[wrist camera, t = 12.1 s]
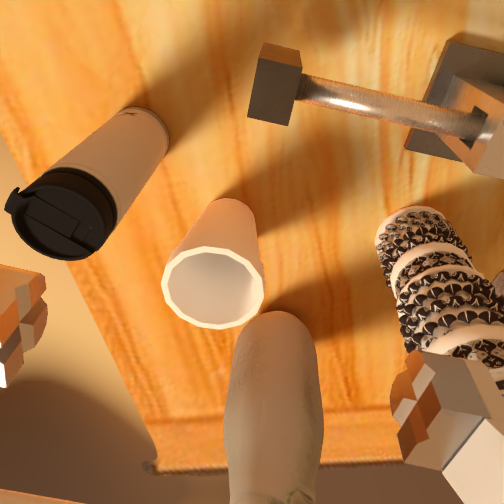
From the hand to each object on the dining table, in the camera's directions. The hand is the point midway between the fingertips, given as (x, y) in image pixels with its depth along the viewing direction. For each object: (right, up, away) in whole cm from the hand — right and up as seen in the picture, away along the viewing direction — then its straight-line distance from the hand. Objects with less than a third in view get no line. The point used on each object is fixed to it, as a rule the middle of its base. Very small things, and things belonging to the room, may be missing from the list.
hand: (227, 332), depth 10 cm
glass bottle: (+4, -8, +49) cm, 50 cm away
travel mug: (-11, +14, +36) cm, 40 cm away
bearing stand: (+24, +15, +32) cm, 43 cm away
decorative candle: (+19, +4, +41) cm, 45 cm away
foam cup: (-2, +5, +41) cm, 41 cm away
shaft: (+10, +15, +28) cm, 33 cm away
